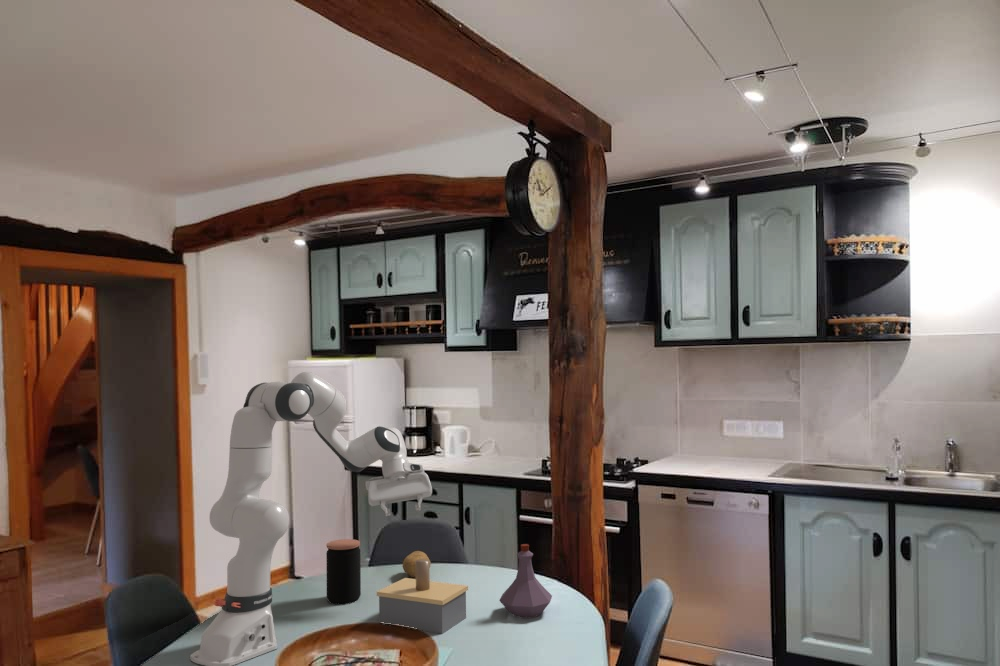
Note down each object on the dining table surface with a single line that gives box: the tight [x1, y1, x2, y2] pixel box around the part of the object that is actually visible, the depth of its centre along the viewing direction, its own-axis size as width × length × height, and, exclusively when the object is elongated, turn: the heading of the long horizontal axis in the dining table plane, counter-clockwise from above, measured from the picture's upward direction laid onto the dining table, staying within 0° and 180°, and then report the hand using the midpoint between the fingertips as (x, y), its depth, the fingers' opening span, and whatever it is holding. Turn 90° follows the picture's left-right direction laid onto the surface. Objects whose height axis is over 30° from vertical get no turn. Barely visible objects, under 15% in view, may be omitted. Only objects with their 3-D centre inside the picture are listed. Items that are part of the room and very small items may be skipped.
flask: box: [499, 543, 553, 618], centre depth 217 cm, size 16×16×20 cm
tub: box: [378, 591, 467, 635], centre depth 211 cm, size 14×21×8 cm, turn 65°
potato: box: [402, 550, 432, 579], centre depth 256 cm, size 10×14×8 cm
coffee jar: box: [326, 538, 362, 605], centre depth 232 cm, size 11×11×18 cm
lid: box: [376, 559, 469, 605], centre depth 211 cm, size 15×22×11 cm
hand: (403, 512), depth 225 cm, fingers open, 8 cm apart
